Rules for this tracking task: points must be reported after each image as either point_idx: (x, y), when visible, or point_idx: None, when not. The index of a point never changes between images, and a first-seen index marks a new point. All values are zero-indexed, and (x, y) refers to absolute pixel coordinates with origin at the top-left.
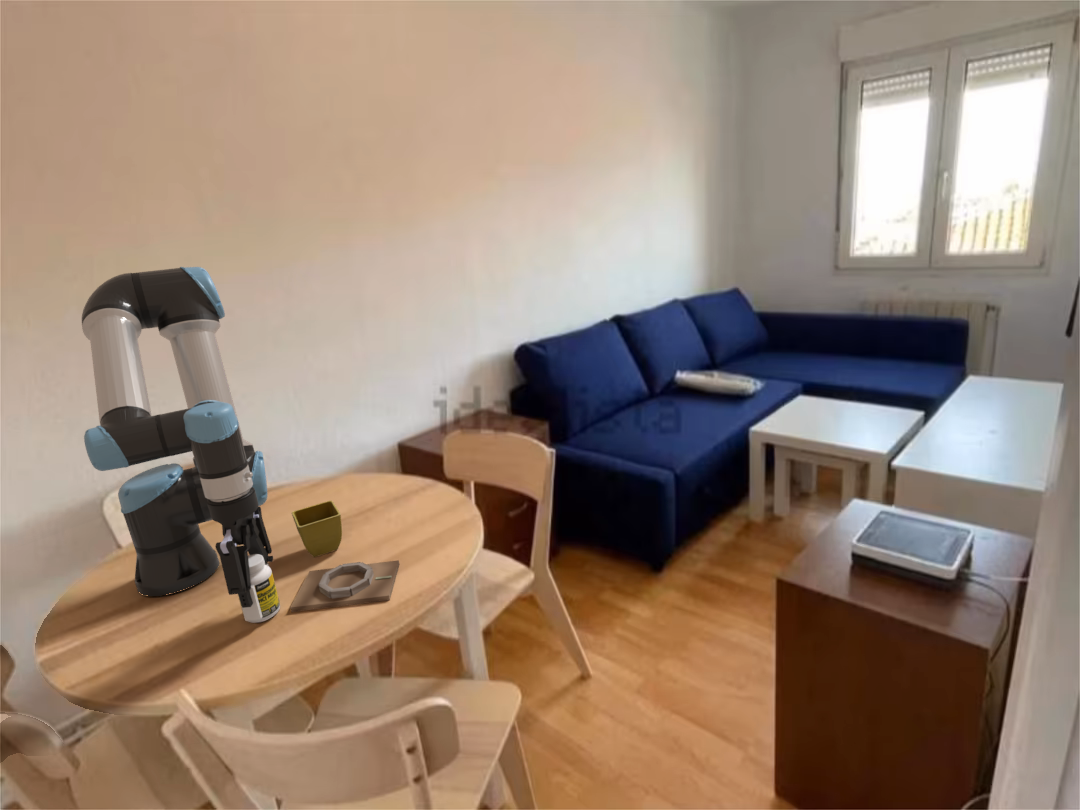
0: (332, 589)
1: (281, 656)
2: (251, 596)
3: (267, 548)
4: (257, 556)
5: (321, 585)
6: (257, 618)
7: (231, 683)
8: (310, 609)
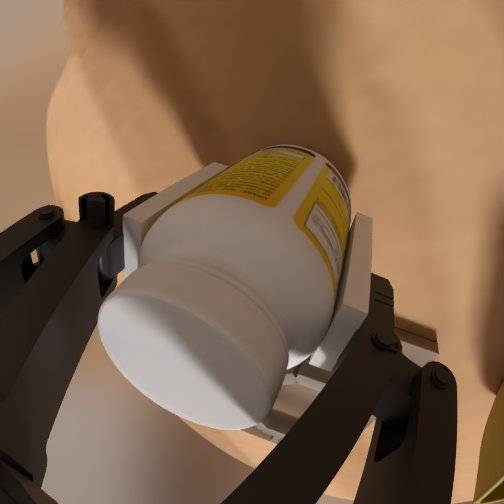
0: None
1: None
2: None
3: (374, 439)
4: (220, 416)
5: (289, 377)
6: None
7: (61, 149)
8: None
